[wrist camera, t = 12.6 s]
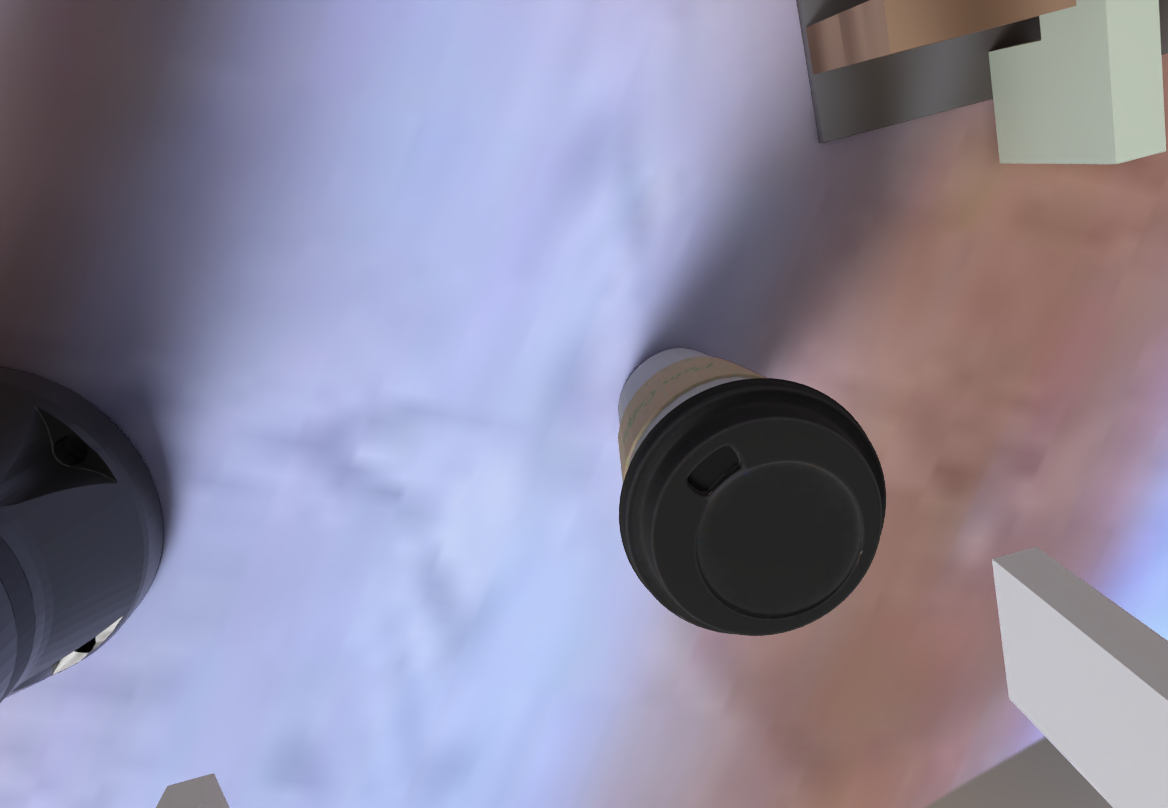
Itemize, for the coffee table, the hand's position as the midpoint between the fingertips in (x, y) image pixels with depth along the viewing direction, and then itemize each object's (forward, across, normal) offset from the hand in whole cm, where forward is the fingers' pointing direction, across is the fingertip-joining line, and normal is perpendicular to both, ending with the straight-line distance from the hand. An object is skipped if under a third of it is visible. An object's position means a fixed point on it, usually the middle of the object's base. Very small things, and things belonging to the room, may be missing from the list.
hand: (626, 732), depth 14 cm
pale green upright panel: (+28, +24, +10) cm, 38 cm away
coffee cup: (+29, +6, -4) cm, 30 cm away
